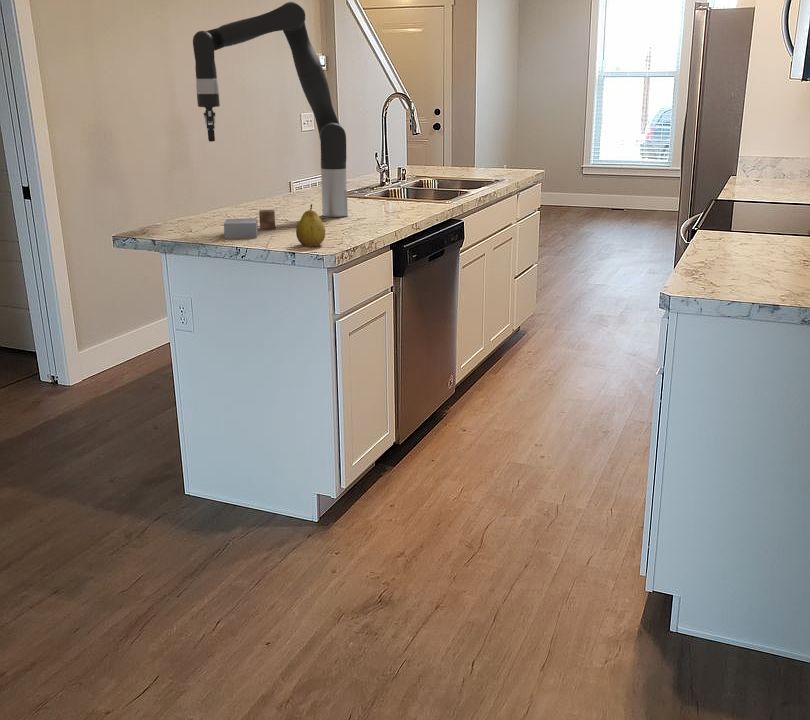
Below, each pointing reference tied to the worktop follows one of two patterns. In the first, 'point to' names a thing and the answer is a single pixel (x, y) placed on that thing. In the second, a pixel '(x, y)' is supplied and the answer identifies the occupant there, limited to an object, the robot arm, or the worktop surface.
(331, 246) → the worktop surface
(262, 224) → the walnut block
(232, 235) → the base block
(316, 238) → the fruit
